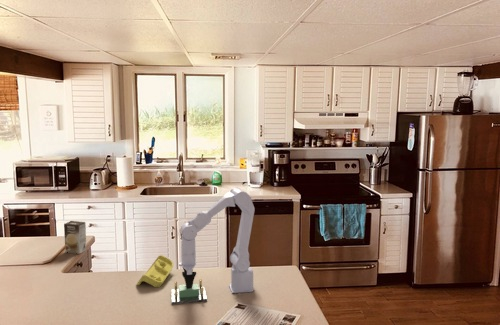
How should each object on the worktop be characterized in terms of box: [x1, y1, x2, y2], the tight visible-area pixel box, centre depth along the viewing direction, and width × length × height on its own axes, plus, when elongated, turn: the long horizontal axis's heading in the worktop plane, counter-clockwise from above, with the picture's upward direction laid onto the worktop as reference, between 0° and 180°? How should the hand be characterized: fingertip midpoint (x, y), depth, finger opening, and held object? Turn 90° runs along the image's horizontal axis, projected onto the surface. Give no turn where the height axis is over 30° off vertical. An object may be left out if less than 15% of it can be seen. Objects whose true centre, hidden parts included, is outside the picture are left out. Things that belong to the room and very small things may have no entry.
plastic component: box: [136, 254, 174, 288], centre depth 172 cm, size 20×7×10 cm
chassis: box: [171, 279, 208, 305], centre depth 155 cm, size 14×11×5 cm
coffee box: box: [63, 220, 87, 255], centre depth 203 cm, size 9×6×16 cm
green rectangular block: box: [178, 283, 200, 298], centre depth 155 cm, size 8×5×3 cm, turn 102°
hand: (188, 284), depth 155 cm, fingers open, 7 cm apart
